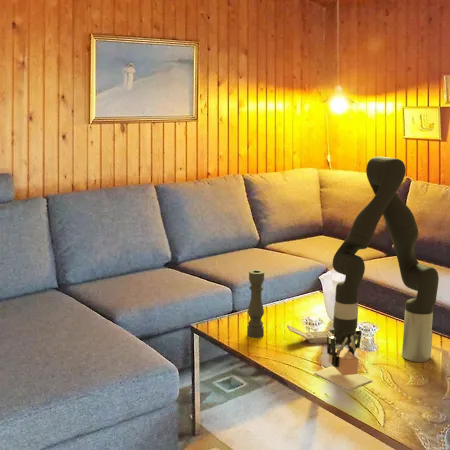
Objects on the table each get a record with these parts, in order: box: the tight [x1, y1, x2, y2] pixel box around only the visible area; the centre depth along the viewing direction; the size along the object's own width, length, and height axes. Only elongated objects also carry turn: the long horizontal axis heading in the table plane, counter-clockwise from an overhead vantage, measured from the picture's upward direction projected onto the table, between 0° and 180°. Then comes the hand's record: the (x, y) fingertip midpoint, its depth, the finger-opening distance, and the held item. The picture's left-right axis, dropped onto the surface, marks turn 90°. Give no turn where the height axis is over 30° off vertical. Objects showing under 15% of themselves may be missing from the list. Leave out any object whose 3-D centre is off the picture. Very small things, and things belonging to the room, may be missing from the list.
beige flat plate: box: [313, 365, 373, 391], centre depth 203 cm, size 11×15×1 cm
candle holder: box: [246, 269, 265, 339], centre depth 236 cm, size 6×6×25 cm
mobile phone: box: [286, 324, 335, 344], centre depth 234 cm, size 6×6×25 cm
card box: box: [328, 345, 359, 375], centre depth 202 cm, size 11×5×5 cm, turn 14°
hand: (342, 363), depth 202 cm, fingers closed on card box, 6 cm apart
